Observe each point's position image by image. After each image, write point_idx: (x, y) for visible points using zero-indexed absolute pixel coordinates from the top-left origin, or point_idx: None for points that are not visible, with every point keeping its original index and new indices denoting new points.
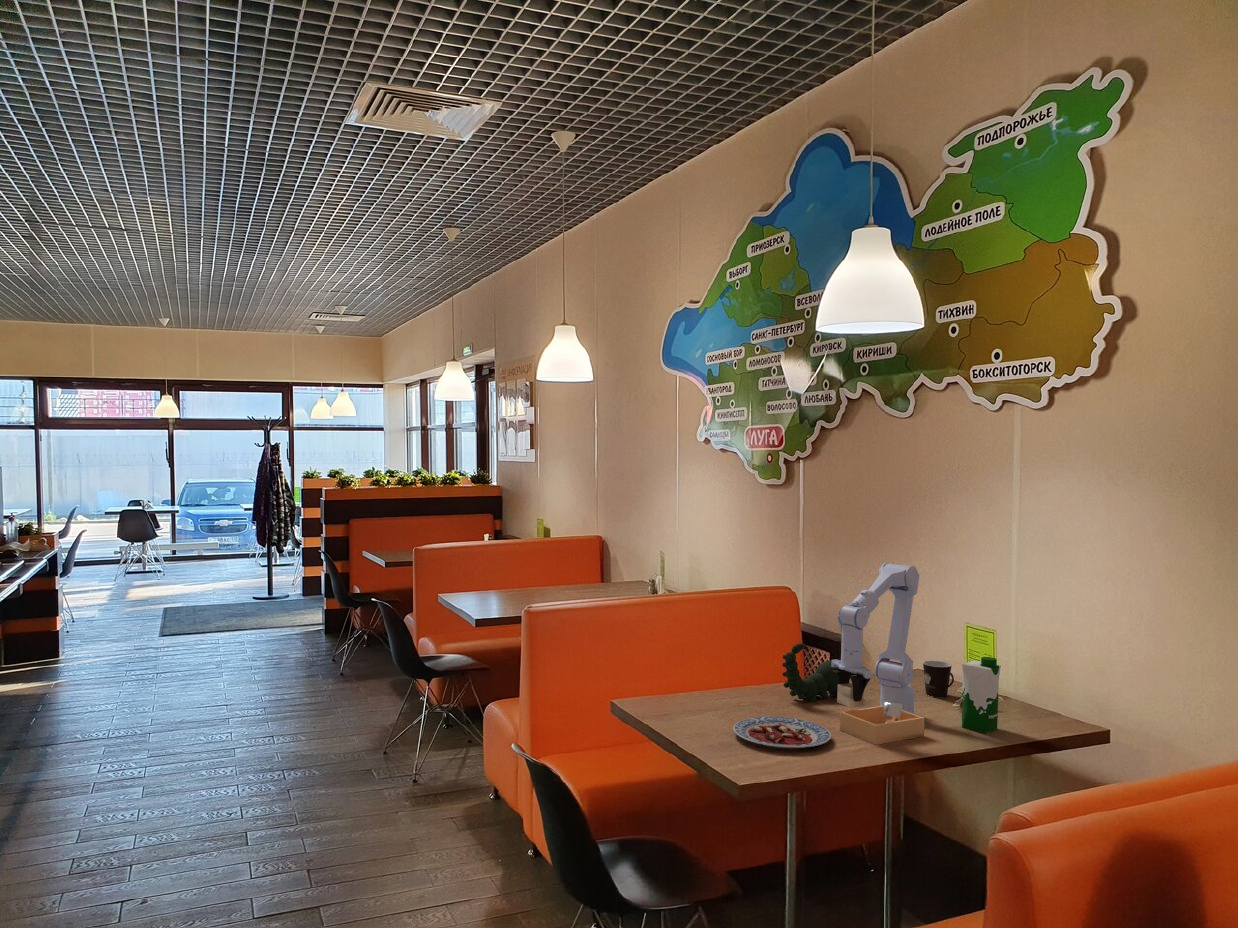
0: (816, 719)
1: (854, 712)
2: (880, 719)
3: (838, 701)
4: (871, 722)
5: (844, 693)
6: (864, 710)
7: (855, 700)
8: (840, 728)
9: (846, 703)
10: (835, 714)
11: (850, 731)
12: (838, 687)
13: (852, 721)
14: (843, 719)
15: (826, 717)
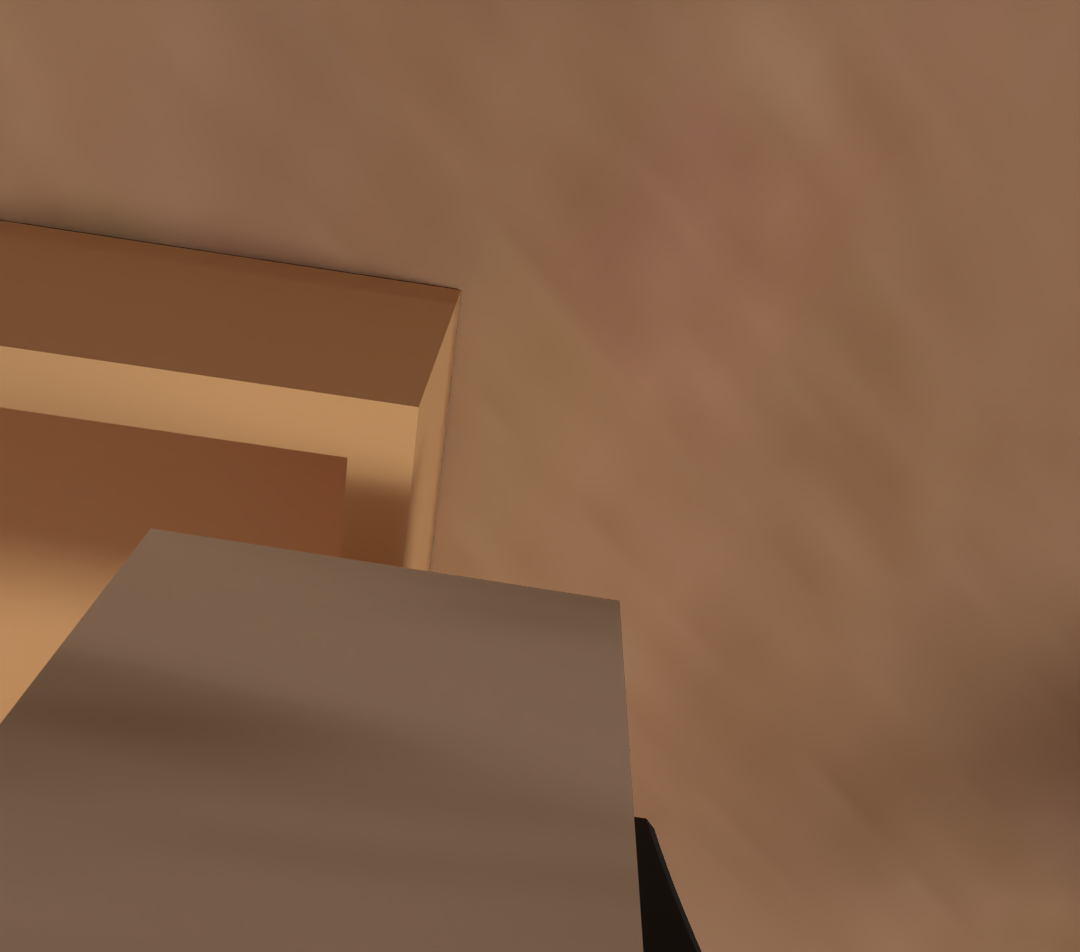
0: (1071, 416)
1: None
2: None
3: (570, 608)
4: None
5: (274, 769)
6: None
7: None
8: (446, 297)
9: (249, 576)
10: (992, 799)
11: (190, 264)
12: (591, 925)
13: (56, 311)
14: (341, 345)
15: (1009, 612)
